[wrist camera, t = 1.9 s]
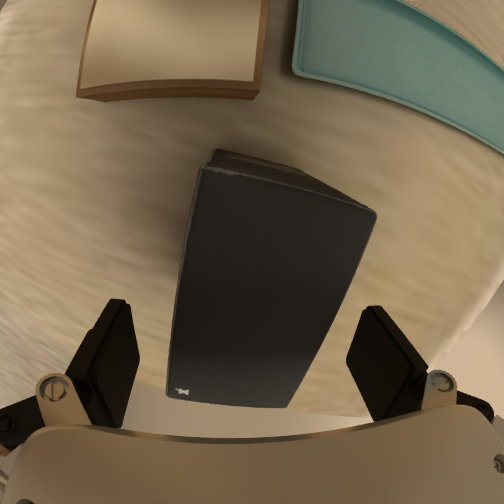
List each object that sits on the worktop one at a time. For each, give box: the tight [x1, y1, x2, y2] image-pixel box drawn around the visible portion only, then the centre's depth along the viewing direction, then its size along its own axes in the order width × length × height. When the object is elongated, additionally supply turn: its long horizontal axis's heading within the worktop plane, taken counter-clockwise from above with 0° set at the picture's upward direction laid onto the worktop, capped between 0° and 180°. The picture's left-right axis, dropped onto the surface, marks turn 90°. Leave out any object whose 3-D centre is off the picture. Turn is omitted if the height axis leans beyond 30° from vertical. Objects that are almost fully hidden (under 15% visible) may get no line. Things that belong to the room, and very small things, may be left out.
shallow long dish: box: [291, 0, 504, 154], centre depth 14 cm, size 26×9×2 cm, turn 84°
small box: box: [166, 149, 377, 408], centre depth 15 cm, size 11×6×10 cm, turn 166°
